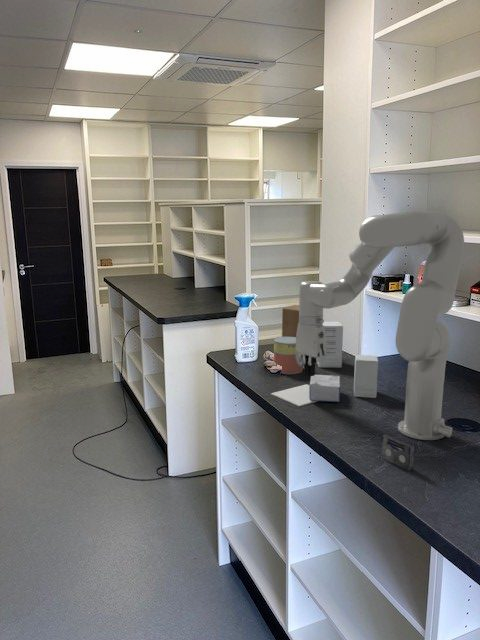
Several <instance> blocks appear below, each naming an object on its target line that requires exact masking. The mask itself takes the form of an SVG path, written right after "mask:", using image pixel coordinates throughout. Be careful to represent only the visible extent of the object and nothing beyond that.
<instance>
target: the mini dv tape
mask: <svg viewBox="0 0 480 640" xmlns="http://www.w3.org/2000/svg"><path fill="white" fill-rule="evenodd" d="M381 439H382V440H381V456H380V459H382V460H385V461H387V462H389V463H392V464H393V465H395V466H398V468H399V467H400V468H401V469H403V470H406V471H408V472H410V471H411V470H414V459H415V458H414V457H415V446H414V445H412V444H408V443H406V442H404V441H402V440H400V439H396V438H394V437H393V436H390V435H387V434H384V435H383V434H382V438H381Z"/></svg>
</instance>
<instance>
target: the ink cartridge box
mask: <svg viewBox="0 0 480 640" xmlns="http://www.w3.org/2000/svg"><path fill="white" fill-rule="evenodd" d="M309 385H310V386H309V399H310V400H311V401H317V402H327V403H328V402H329V403H330V402H331V403H340V402H341V377H340V375H329V374H328V375H325V374H315V375H314V376H311V377H310V382H309Z"/></svg>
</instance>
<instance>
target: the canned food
mask: <svg viewBox="0 0 480 640" xmlns="http://www.w3.org/2000/svg"><path fill="white" fill-rule="evenodd" d="M297 353H298V352H297V350H296V337H282V336H278V337H275V338H274V339H273V363H274V362H275V363H276V364H278V365H280V366H282V370H281V372H280V373H279V374H281V373H282V375H296V374H300V373H302V372H304V371H303V370H304V369H303V364H304V363H303V359H302V357H301V356H299V355H298V354H297Z"/></svg>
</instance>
